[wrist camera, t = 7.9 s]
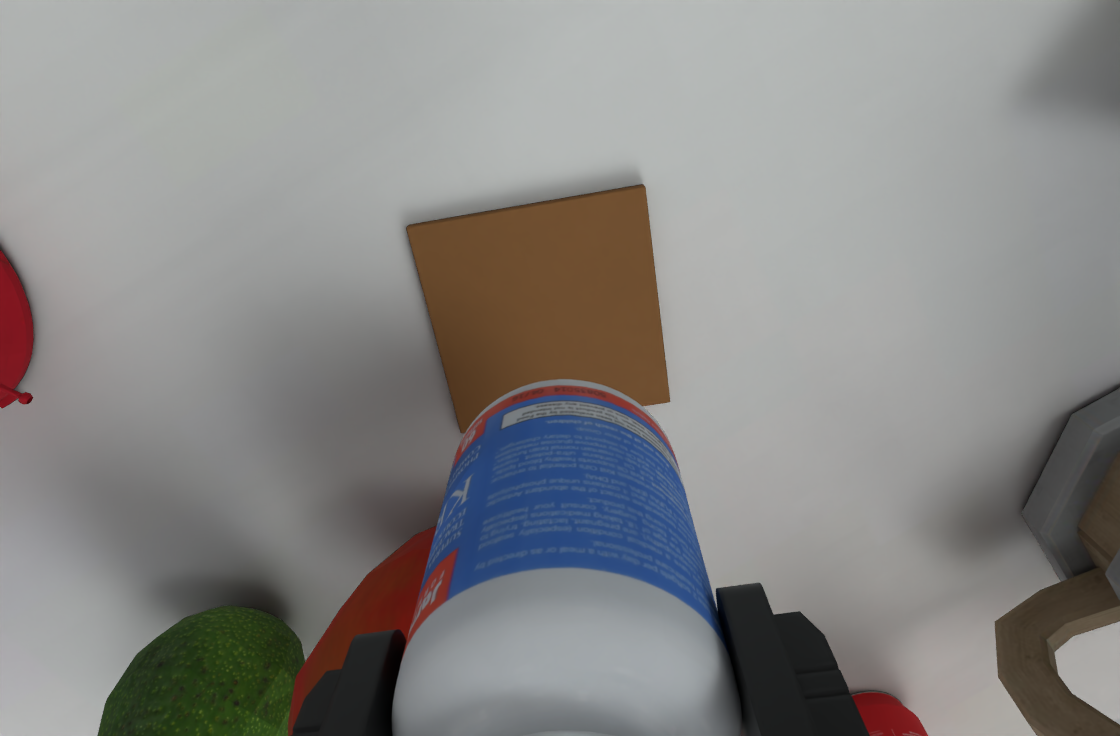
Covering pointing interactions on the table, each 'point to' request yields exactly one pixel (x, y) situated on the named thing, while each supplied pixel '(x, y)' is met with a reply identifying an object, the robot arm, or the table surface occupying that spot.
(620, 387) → the cork mat
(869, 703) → the beverage can
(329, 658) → the apple
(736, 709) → the pill bottle
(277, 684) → the avocado
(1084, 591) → the tankard
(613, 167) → the table surface
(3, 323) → the alarm clock
